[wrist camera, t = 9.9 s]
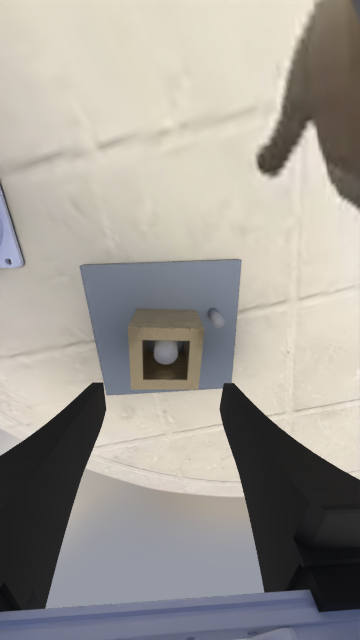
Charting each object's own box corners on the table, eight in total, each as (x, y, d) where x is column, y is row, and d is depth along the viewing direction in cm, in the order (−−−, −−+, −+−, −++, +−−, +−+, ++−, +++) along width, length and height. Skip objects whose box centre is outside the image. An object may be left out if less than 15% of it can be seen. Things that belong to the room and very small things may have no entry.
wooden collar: (139, 372, 21) (131, 404, 17) (137, 308, 18) (127, 327, 14) (191, 372, 21) (196, 404, 17) (196, 309, 19) (204, 329, 14)
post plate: (109, 389, 23) (95, 422, 19) (84, 264, 18) (57, 271, 13) (228, 382, 23) (241, 412, 19) (237, 259, 18) (258, 263, 14)
